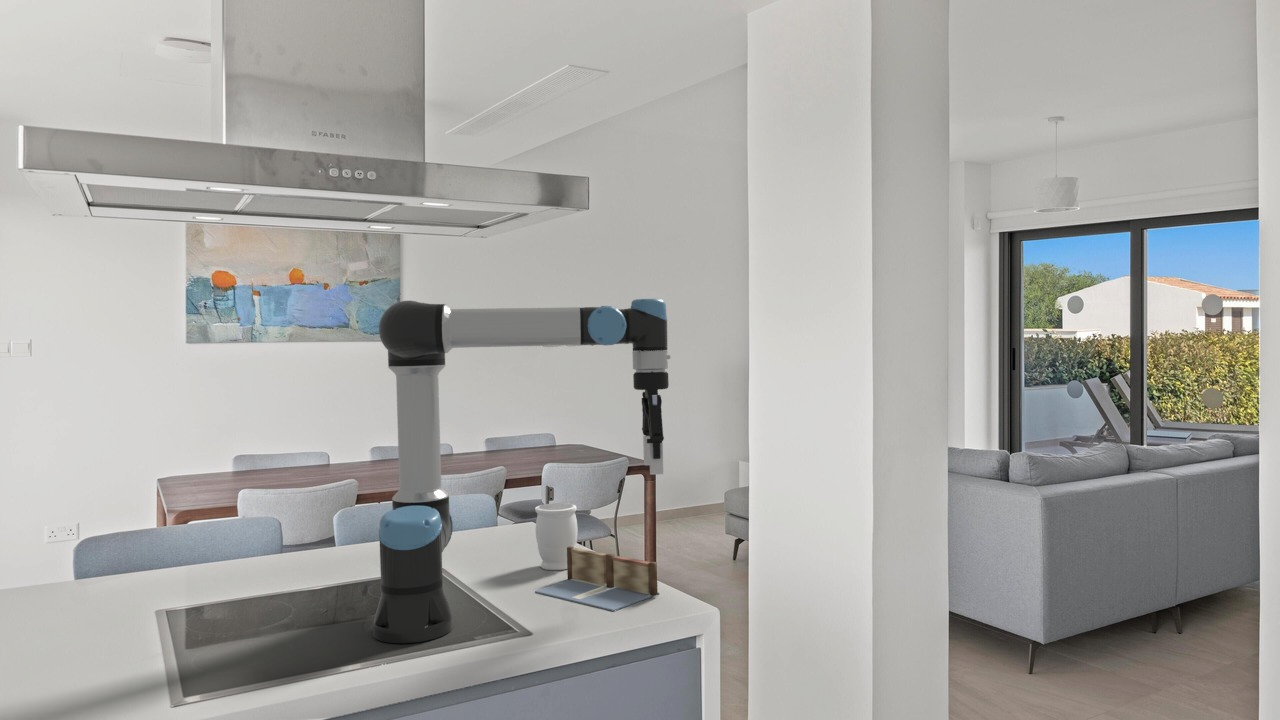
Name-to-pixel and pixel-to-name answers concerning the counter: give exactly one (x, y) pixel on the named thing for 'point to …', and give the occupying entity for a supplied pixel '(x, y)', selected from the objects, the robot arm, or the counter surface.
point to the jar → (555, 533)
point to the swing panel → (635, 575)
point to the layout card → (594, 594)
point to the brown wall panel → (590, 566)
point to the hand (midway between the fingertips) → (653, 469)
